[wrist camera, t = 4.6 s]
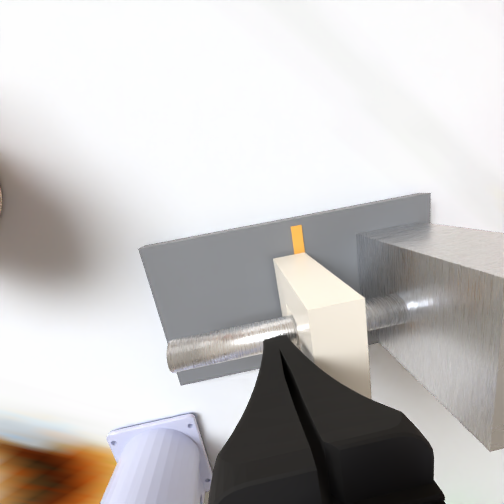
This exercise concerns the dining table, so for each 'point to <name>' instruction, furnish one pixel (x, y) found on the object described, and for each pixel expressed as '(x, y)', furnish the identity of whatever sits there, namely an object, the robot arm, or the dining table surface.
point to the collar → (326, 319)
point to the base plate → (257, 270)
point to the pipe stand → (412, 318)
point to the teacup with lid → (0, 200)
